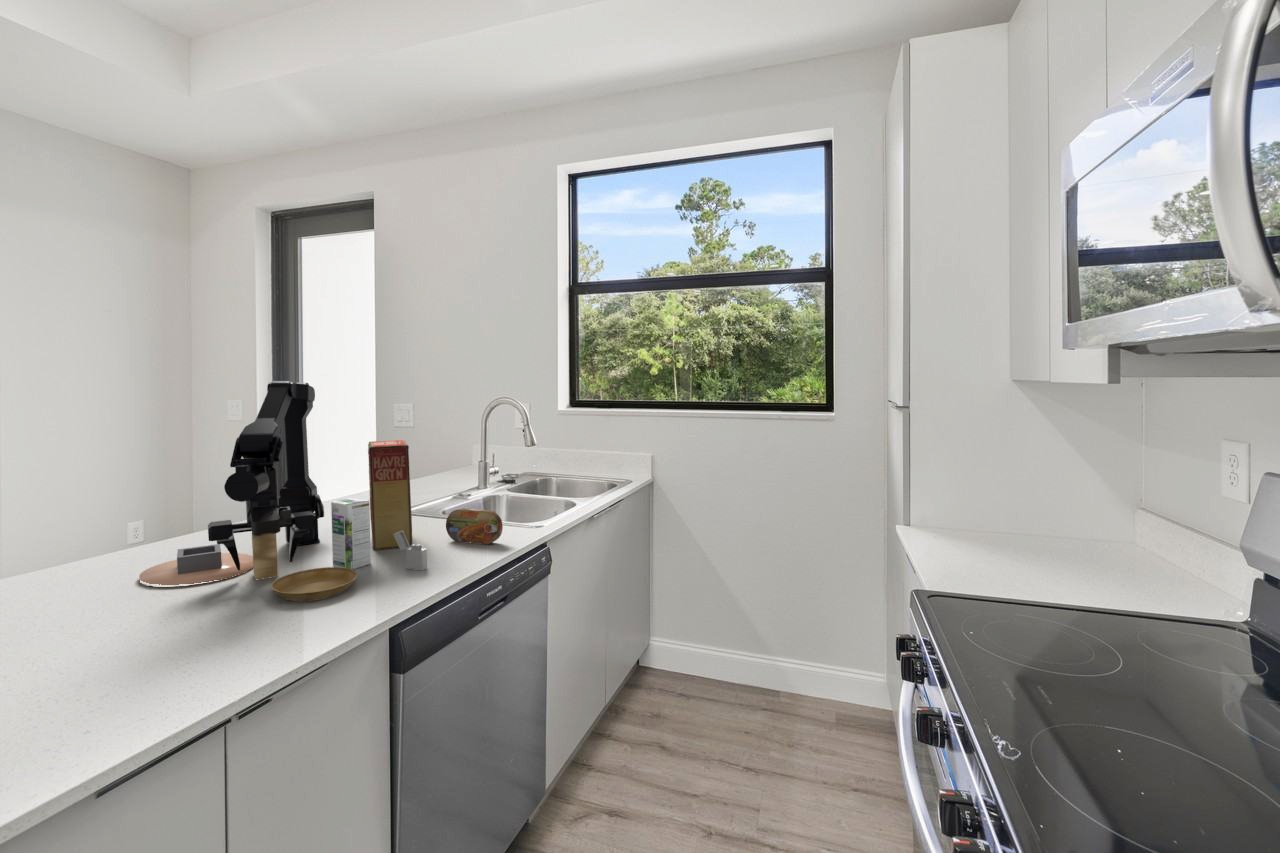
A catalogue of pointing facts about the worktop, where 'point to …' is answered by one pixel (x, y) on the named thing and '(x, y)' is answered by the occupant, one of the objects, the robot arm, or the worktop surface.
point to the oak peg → (265, 556)
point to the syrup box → (351, 533)
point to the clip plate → (197, 567)
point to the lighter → (412, 552)
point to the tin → (474, 526)
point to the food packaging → (389, 492)
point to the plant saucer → (314, 583)
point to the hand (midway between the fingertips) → (265, 565)
